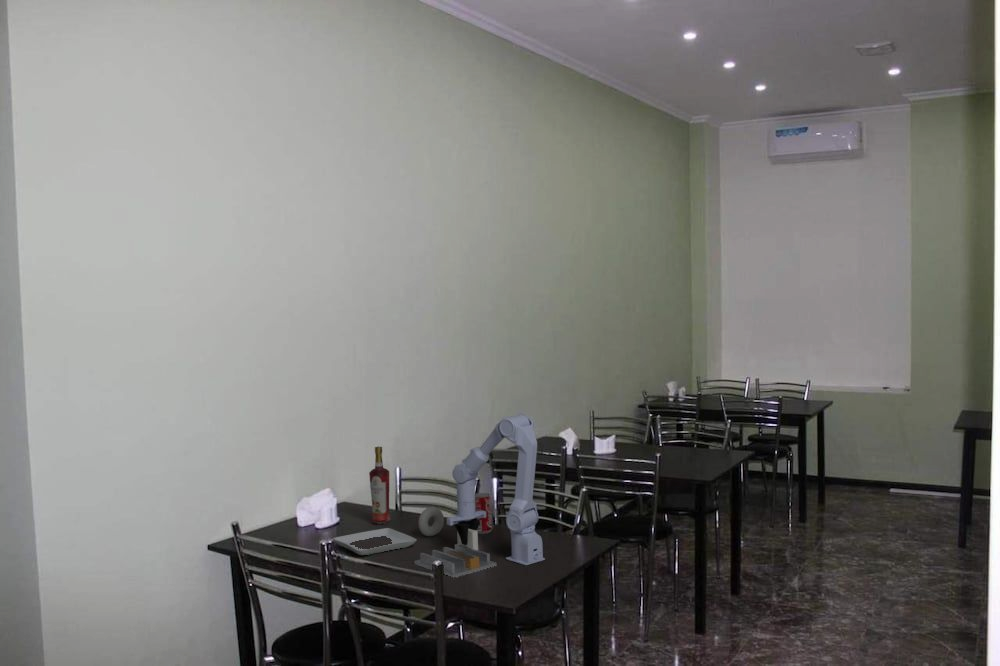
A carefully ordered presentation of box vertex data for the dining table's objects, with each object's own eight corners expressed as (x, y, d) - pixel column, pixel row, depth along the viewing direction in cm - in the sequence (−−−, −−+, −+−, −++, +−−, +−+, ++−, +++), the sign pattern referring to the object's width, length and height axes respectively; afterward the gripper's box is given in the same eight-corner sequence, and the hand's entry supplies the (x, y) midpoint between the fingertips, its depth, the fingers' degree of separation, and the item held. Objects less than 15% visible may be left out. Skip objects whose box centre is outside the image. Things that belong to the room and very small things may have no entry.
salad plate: (388, 536, 296) (387, 526, 296) (418, 548, 278) (418, 538, 278) (331, 547, 284) (331, 537, 284) (359, 561, 266) (358, 550, 266)
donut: (422, 539, 288) (421, 510, 287) (416, 538, 290) (415, 508, 290) (446, 534, 294) (445, 505, 294) (440, 532, 297) (439, 503, 296)
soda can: (490, 535, 291) (488, 497, 290) (469, 534, 292) (468, 497, 292) (494, 529, 298) (493, 492, 297) (474, 529, 299) (473, 492, 299)
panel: (478, 552, 269) (477, 530, 269) (473, 554, 268) (472, 532, 268) (462, 548, 276) (461, 526, 275) (457, 549, 274) (457, 527, 274)
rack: (496, 566, 255) (496, 552, 255) (453, 578, 244) (453, 564, 244) (456, 553, 270) (455, 540, 270) (414, 564, 260) (413, 551, 260)
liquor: (368, 525, 310) (365, 448, 310) (375, 520, 317) (372, 445, 317) (387, 525, 309) (384, 448, 308) (394, 520, 316) (391, 445, 315)
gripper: (476, 495, 279) (477, 536, 280) (440, 503, 270) (441, 545, 270) (489, 498, 274) (491, 540, 274) (453, 506, 265) (455, 550, 265)
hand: (467, 543), depth 272 cm, fingers closed on panel, 2 cm apart
